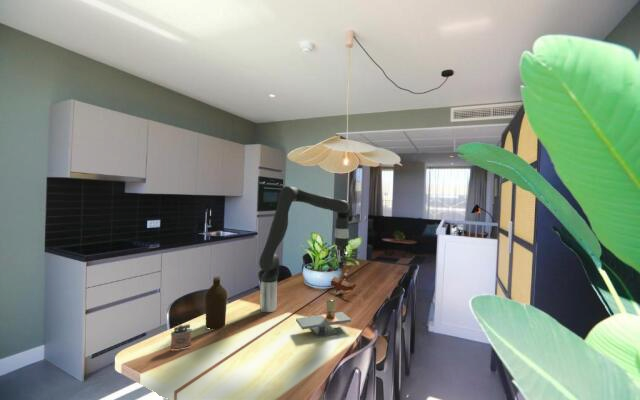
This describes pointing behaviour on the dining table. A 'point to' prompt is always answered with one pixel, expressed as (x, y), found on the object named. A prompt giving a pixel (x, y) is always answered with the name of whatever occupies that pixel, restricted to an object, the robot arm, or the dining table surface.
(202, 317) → the dining table surface
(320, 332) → the pivot stand
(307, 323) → the seesaw board
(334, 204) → the robot arm
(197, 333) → the dining table surface
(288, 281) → the dining table surface
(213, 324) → the olive oil
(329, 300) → the ball
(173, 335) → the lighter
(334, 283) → the decorative bird
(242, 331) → the dining table surface
